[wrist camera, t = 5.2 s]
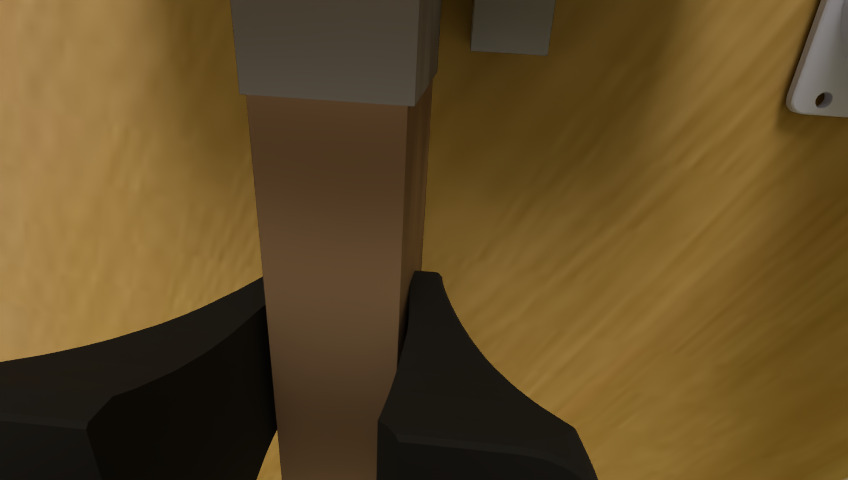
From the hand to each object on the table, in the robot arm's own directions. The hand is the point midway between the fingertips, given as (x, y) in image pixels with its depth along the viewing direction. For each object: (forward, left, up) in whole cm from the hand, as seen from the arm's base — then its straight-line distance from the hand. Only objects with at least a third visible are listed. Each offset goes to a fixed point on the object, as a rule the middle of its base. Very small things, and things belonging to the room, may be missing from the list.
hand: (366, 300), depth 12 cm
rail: (0, 0, -3) cm, 3 cm away
